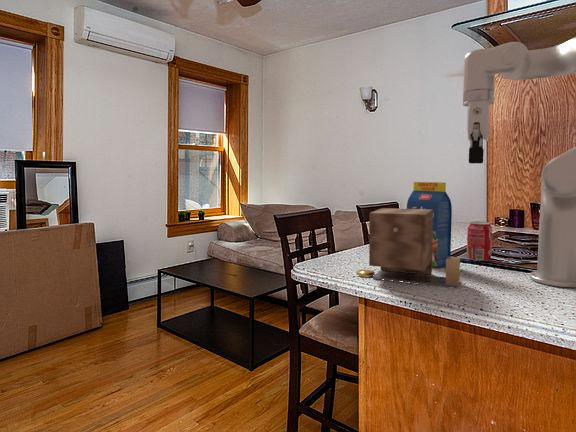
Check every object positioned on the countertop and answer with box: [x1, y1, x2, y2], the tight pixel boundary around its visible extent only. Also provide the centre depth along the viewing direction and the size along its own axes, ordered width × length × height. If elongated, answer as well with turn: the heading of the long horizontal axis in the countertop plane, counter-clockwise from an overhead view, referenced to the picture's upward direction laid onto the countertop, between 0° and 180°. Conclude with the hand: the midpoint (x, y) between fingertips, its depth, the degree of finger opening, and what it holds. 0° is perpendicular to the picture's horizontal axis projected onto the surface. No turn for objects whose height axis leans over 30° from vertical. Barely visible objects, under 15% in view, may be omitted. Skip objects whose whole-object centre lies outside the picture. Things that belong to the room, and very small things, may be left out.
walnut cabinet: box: [368, 207, 433, 276], centre depth 108 cm, size 14×14×18 cm
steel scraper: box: [372, 256, 461, 289], centre depth 106 cm, size 21×7×7 cm, turn 63°
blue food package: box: [406, 181, 453, 269], centre depth 123 cm, size 6×12×25 cm, turn 31°
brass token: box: [355, 269, 376, 277], centre depth 112 cm, size 5×5×1 cm
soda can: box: [466, 220, 493, 262], centre depth 126 cm, size 7×7×12 cm
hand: (476, 163), depth 110 cm, fingers open, 9 cm apart
